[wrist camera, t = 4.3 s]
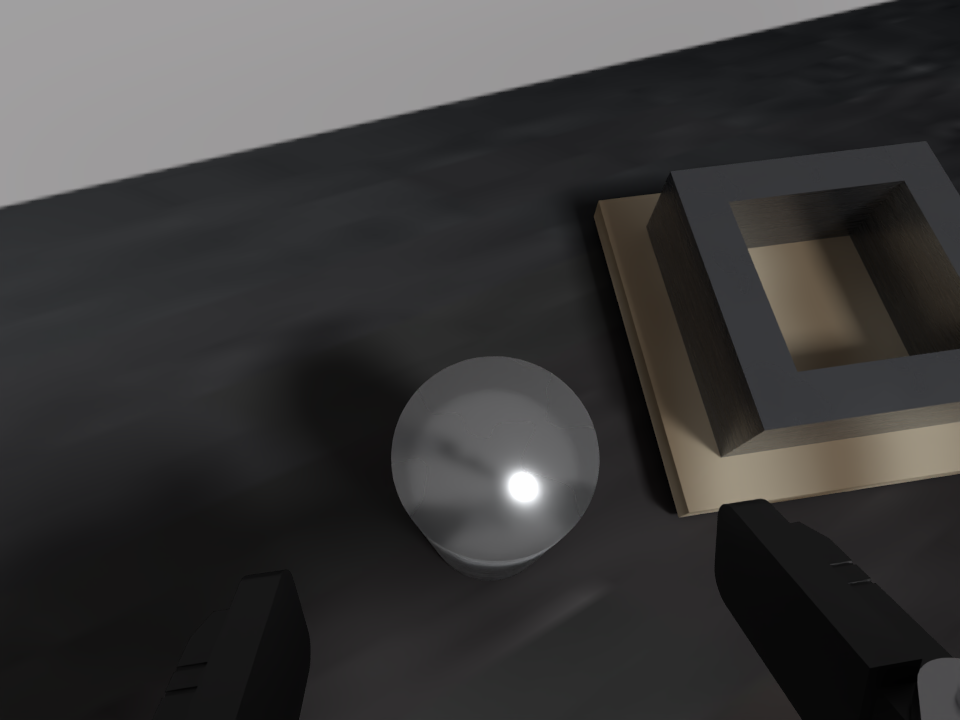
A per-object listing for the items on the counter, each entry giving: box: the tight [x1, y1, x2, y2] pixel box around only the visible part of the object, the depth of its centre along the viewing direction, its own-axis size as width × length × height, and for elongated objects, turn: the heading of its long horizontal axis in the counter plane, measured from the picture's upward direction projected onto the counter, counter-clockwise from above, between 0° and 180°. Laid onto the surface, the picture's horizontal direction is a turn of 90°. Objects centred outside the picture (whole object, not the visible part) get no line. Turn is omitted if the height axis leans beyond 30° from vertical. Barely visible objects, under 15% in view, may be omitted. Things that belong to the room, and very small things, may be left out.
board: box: [594, 193, 960, 517], centre depth 20 cm, size 12×12×1 cm
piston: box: [391, 356, 599, 581], centre depth 14 cm, size 4×4×8 cm
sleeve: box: [646, 141, 960, 458], centre depth 19 cm, size 9×9×3 cm
